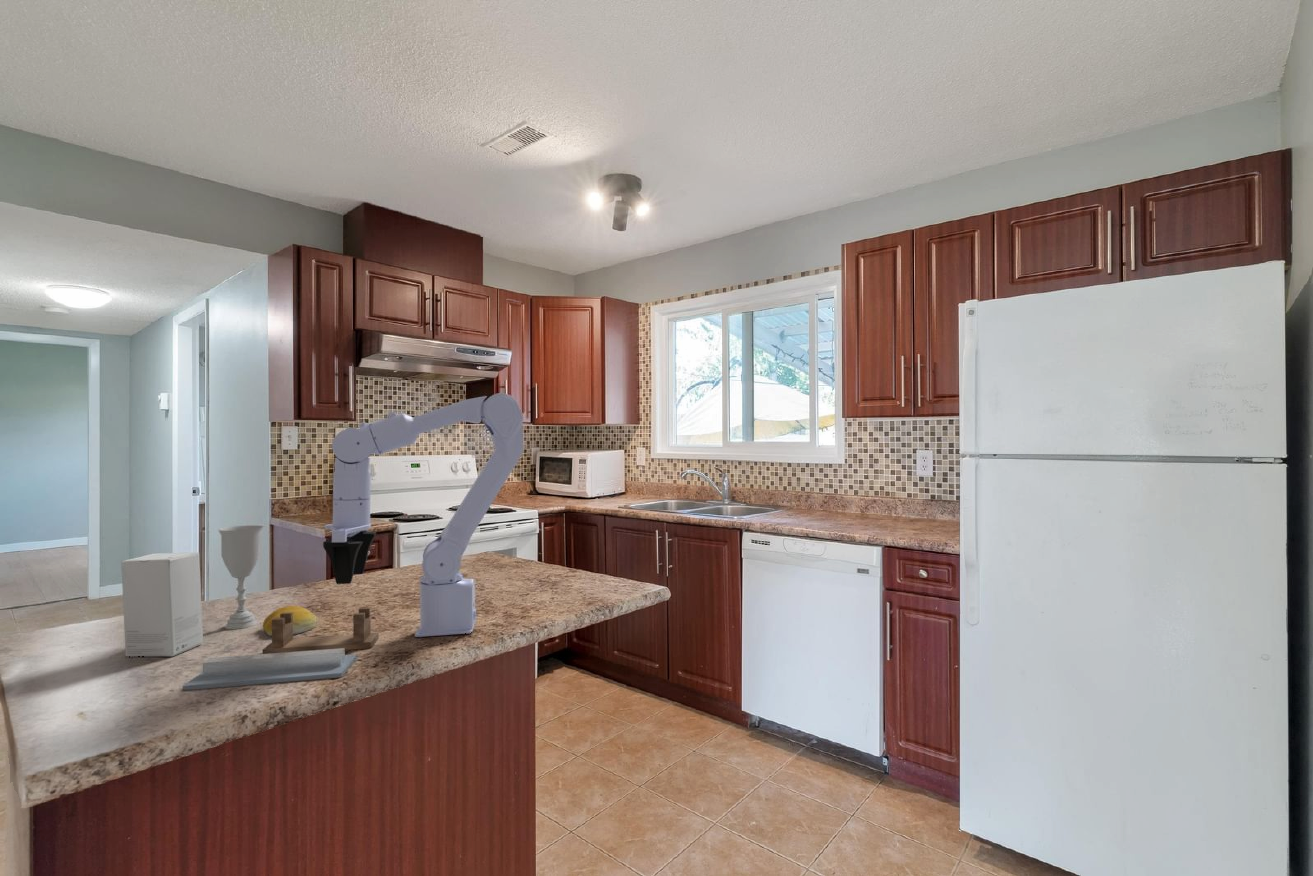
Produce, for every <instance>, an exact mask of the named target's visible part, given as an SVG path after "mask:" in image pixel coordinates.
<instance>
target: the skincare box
mask: <svg viewBox="0 0 1313 876" xmlns="http://www.w3.org/2000/svg"><path fill="white" fill-rule="evenodd" d="M200 562H201V561H200V552H198V551H197V552H172V553H171V552H166V553H165V552H163V553H162V552H161V553H159V552H158V553H157V552H155V553H150V554H146V555H143V556H139V557H134V558H130V559H125V560H123V561H120V564H121V580H122V581H121V583H122V585H121V586H122V603H123V604H122V605H123V606H122V607H123V608H122V609H123V623H124V624H123V625H124V629H123V630H124V646H125V647H124V648H125V652H124V653H125V657H126V656H127V657H126V658H130V657H131V658H132V657H134V658H135V657H137V658H138V656H140V657H142V656H144V657H174V656H178V655H179V654H182V653H184V652H187V651H190V650H191V649H192V650H193V649H194V648H197V647H198V646H200V645H202V644H203V643H204V635H203V633H204V632H203V630H204V629H203V611H202V610H203V609H202V607H203V606H202V592H201V591H202V588H201V587H202V585H201V570H200V569H201V565H200ZM129 656H130V657H129Z"/></svg>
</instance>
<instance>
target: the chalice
mask: <svg viewBox="0 0 1313 876" xmlns="http://www.w3.org/2000/svg"><path fill="white" fill-rule="evenodd" d="M263 528H264V525H256V524H255V525H235V526H226V527H221V528H218V529H217V530H218V532H219V534H220V536H221V538H220V539H221V540H220V541H221V543H220V547H221V549H220V550H221V553H220V555H221V558H222V560H223V563H224V566H225V567H226V568H227V570H228V572H229V574H230V577H232V578H234V579H237V583H238V584H237V588H236V589H235V590H236V591H237V594H238V595H237V597H236V599H235V601H236V602H237V604H238V606H237V609H236V610H235V612H233V613H232V612H231V614H230V616H228V617H229V618H228V620H227V621H226V624H225V625H224V628H225V629H226V630H241V629H245V628H249V627H250V628H251V627H253V626H255V625H257V624H258V621H257V620H256V617H255V615H254V612H252V611H251V610H247V608H246V607H245V602H246V600H247V597H246V596H245V591H246V589H247V587H246V584H245V580H246V579H245V578H248V577H249V576H251V574H252V572H253V570H254V569H255V566H256V564H257V562H258V560H259V557H260V554H261V532H262V530H263Z"/></svg>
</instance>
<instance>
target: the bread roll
mask: <svg viewBox="0 0 1313 876" xmlns="http://www.w3.org/2000/svg"><path fill="white" fill-rule="evenodd" d="M286 612H293V636H294V635H298V634H302V633H305V632H308V631H310V630H312V629H314V628H315V627H316V625H317V623H318V618H317V616H316V615H315V614H314V613H312V612H311V611H310V610H309V609H307V608H305V607H302V606H298V605H289V606H283V607H280V608H277V609H276V610H273V612H271V613H270V614H269V615H268V616H267V617H265V619H264V621H263V623H262V628H263V630H264V632H265V634H266V635H268V636H270V637H272V619H274V618H280V614H281V613H286Z"/></svg>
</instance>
